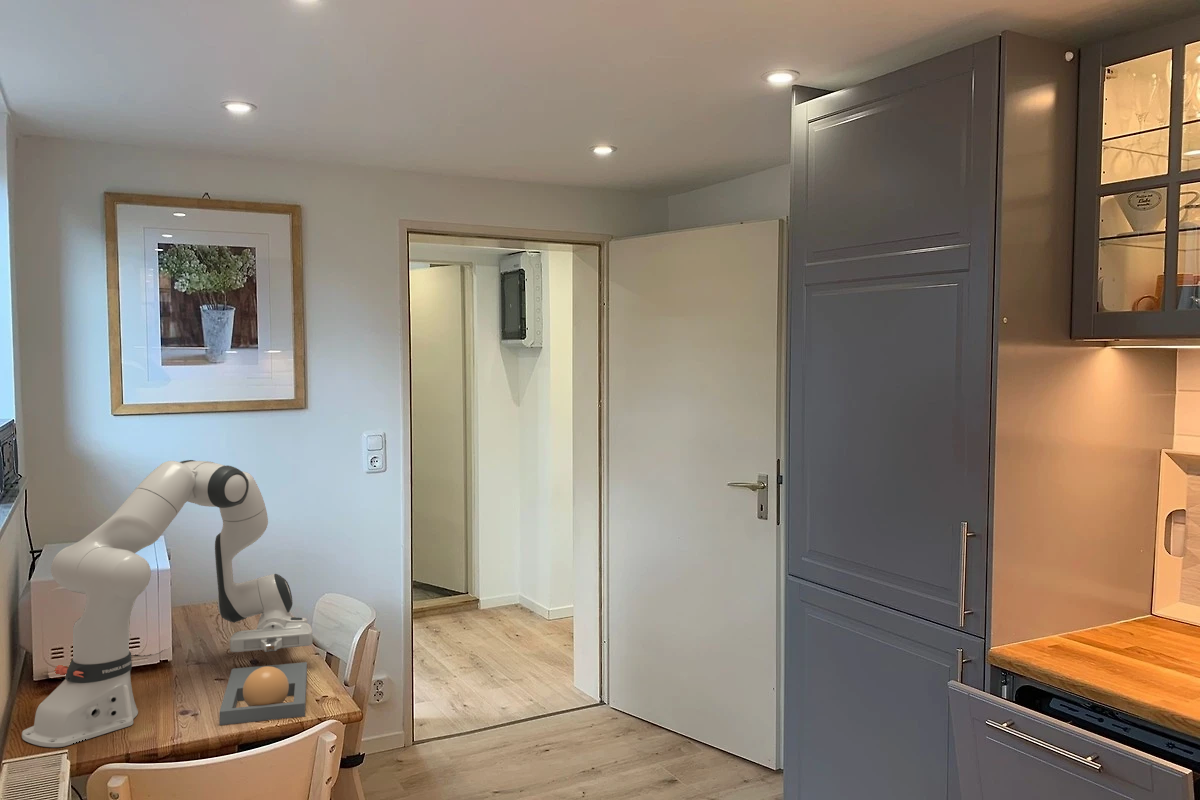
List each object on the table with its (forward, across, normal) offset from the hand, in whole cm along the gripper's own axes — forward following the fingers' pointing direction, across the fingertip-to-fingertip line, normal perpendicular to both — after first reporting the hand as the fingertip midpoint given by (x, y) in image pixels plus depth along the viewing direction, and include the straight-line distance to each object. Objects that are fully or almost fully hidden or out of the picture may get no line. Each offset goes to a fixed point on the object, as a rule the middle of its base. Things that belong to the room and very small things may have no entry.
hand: (270, 648), depth 222 cm
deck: (+12, 0, +8) cm, 14 cm away
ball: (+20, 0, +3) cm, 20 cm away
